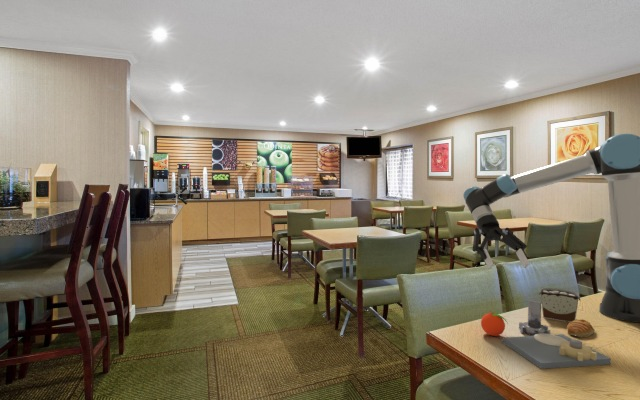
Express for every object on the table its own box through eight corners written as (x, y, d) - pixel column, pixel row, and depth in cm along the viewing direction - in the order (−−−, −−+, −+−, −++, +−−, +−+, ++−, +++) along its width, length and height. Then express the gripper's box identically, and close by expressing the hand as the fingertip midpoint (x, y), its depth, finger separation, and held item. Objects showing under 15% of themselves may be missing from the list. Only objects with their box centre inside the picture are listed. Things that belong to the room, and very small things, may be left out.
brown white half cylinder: (578, 318, 128) (579, 290, 128) (580, 323, 123) (580, 295, 123) (538, 312, 135) (539, 285, 135) (538, 316, 130) (538, 289, 129)
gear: (537, 326, 121) (538, 297, 120) (556, 336, 112) (557, 305, 112) (513, 328, 120) (513, 298, 119) (530, 338, 111) (530, 306, 111)
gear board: (560, 337, 111) (561, 322, 111) (612, 365, 94) (613, 346, 94) (501, 341, 109) (501, 325, 109) (543, 370, 92) (543, 350, 92)
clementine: (511, 335, 113) (511, 313, 113) (504, 342, 108) (505, 319, 108) (485, 329, 119) (485, 307, 119) (477, 335, 114) (477, 313, 113)
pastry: (587, 341, 110) (587, 328, 109) (561, 334, 115) (561, 322, 115) (595, 333, 116) (595, 321, 115) (570, 327, 121) (570, 316, 121)
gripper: (510, 225, 145) (535, 271, 130) (451, 226, 142) (471, 272, 127) (519, 213, 139) (547, 259, 125) (459, 213, 136) (480, 261, 122)
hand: (509, 266), depth 126 cm, fingers open, 13 cm apart
